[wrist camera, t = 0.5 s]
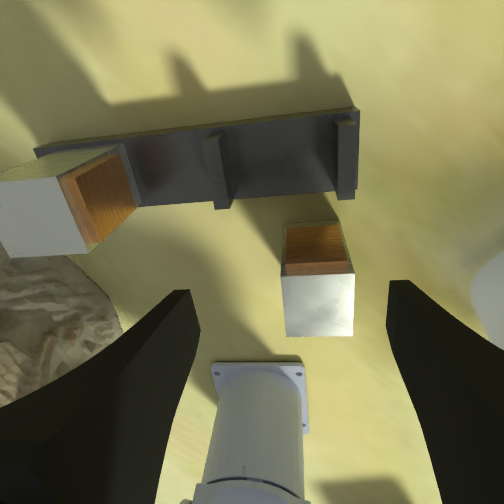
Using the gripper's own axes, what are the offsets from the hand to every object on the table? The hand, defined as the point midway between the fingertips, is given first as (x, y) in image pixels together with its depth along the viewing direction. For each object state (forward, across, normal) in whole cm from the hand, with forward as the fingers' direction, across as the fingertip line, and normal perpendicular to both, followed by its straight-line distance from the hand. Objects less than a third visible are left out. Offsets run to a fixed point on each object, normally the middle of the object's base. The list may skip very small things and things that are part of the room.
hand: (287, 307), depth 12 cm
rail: (+10, +5, -3) cm, 12 cm away
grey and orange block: (+10, -1, +3) cm, 10 cm away
